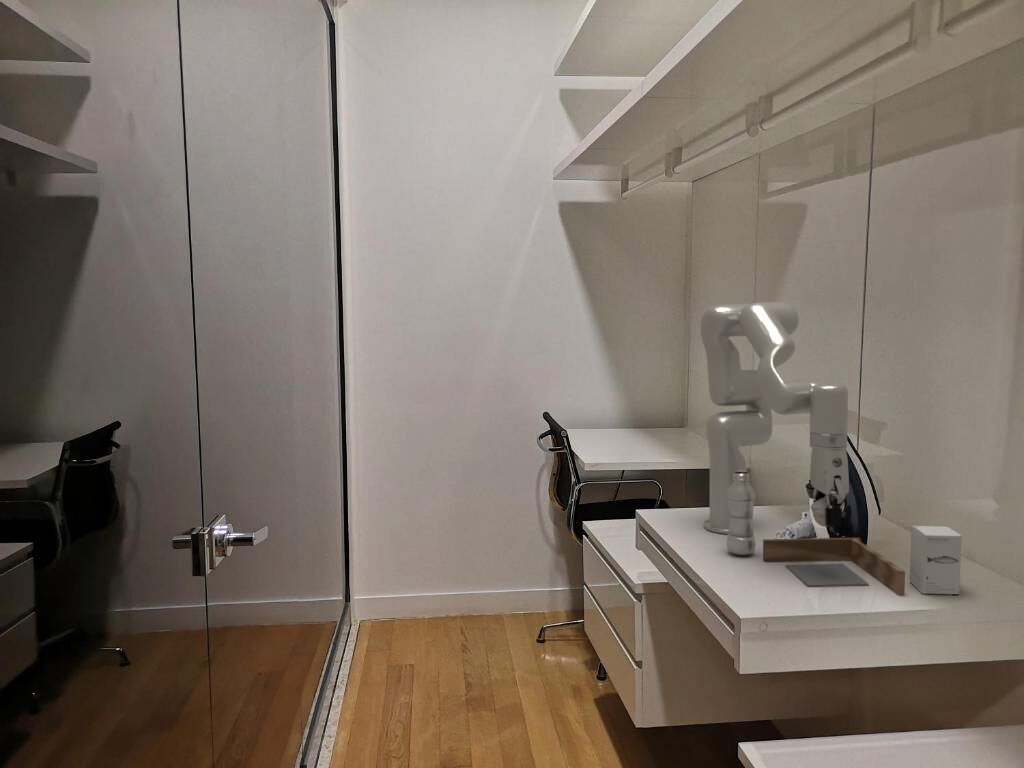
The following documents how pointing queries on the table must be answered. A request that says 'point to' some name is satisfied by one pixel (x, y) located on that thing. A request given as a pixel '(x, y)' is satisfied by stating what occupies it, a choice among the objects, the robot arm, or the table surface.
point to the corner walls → (836, 556)
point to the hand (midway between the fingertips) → (826, 521)
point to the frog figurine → (821, 510)
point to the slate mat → (826, 575)
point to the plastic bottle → (741, 515)
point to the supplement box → (935, 559)
